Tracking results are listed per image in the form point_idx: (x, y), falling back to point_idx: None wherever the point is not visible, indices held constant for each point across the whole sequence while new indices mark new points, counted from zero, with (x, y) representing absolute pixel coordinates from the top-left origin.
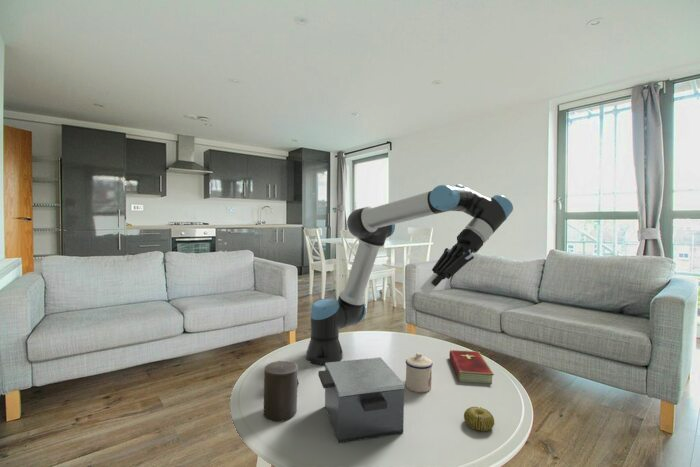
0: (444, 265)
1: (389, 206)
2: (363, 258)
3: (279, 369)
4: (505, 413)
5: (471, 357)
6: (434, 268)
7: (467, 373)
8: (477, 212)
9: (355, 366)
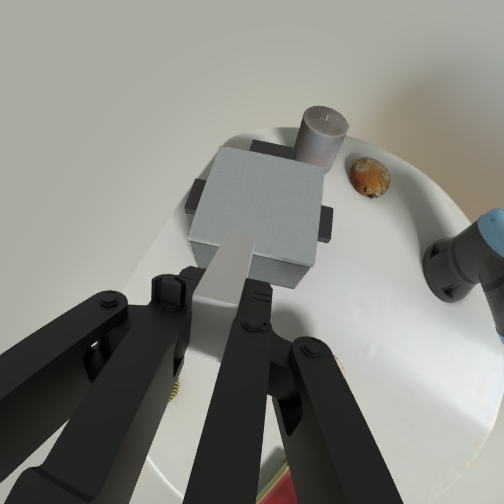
0: (151, 372)
1: None
2: None
3: (318, 116)
4: (163, 443)
5: None
6: (301, 353)
7: (278, 476)
8: None
9: (291, 200)
